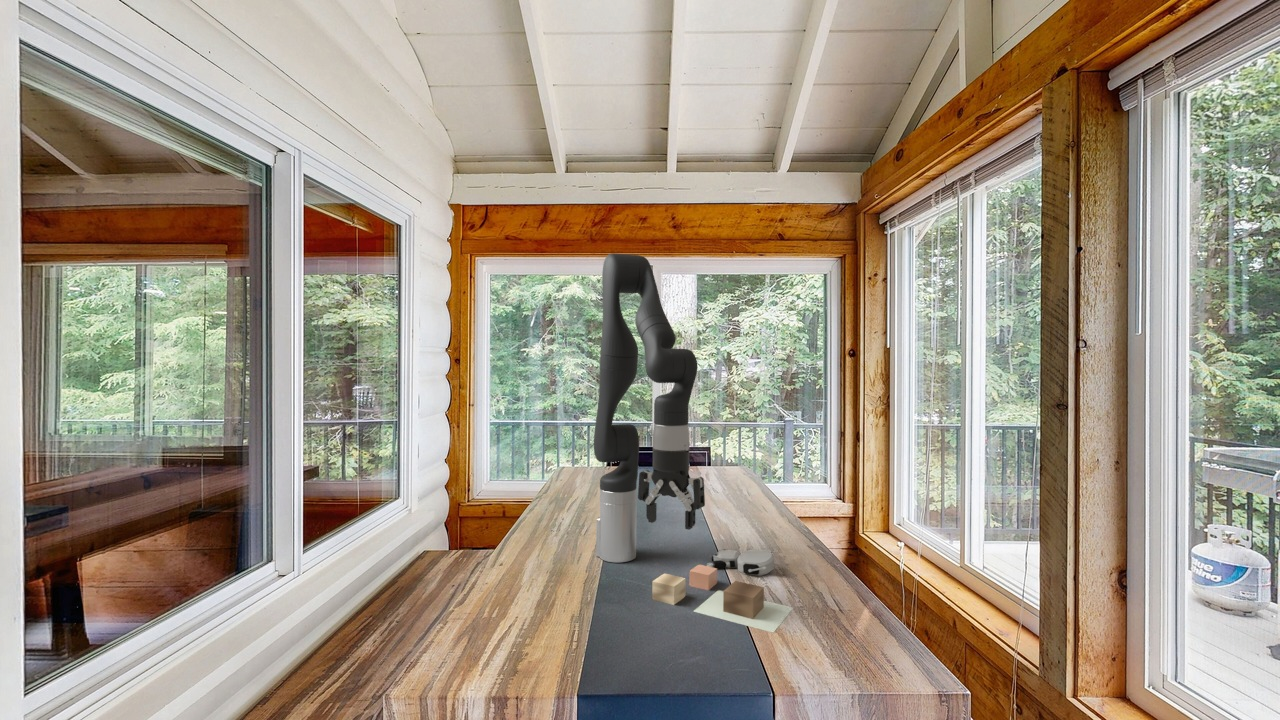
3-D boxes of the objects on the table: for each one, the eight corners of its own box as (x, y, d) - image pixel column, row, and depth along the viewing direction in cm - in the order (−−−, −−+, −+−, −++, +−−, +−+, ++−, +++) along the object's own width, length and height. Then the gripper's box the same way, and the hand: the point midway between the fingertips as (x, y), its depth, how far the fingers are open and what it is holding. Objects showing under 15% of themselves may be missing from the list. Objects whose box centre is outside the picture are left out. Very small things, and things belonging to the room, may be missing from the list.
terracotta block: (689, 591, 124) (689, 570, 124) (698, 584, 128) (698, 564, 128) (708, 596, 122) (708, 575, 122) (717, 589, 126) (717, 568, 126)
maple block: (652, 605, 117) (652, 581, 117) (664, 596, 122) (664, 573, 122) (673, 611, 115) (674, 586, 115) (685, 602, 119) (685, 578, 119)
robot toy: (704, 579, 134) (769, 585, 128) (703, 559, 134) (768, 564, 128) (719, 561, 145) (779, 566, 139) (718, 543, 145) (778, 547, 139)
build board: (693, 617, 112) (693, 611, 112) (718, 595, 122) (718, 589, 122) (773, 639, 104) (773, 632, 104) (793, 613, 114) (793, 607, 114)
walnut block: (723, 611, 112) (723, 591, 112) (735, 600, 117) (735, 580, 117) (752, 619, 109) (753, 598, 109) (763, 607, 114) (763, 587, 114)
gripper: (631, 445, 118) (631, 524, 119) (694, 452, 111) (693, 536, 111) (650, 440, 125) (649, 515, 125) (710, 446, 118) (710, 526, 118)
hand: (670, 525), depth 118 cm, fingers open, 8 cm apart
